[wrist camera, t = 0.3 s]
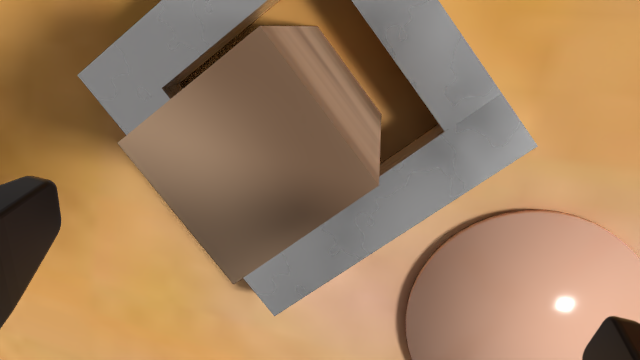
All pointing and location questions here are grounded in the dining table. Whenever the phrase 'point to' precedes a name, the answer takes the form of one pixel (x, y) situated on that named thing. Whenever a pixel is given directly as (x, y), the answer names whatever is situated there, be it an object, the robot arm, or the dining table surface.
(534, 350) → the terracotta coaster
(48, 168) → the dining table surface
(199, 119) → the walnut block
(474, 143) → the metal collar stand
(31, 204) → the robot arm
